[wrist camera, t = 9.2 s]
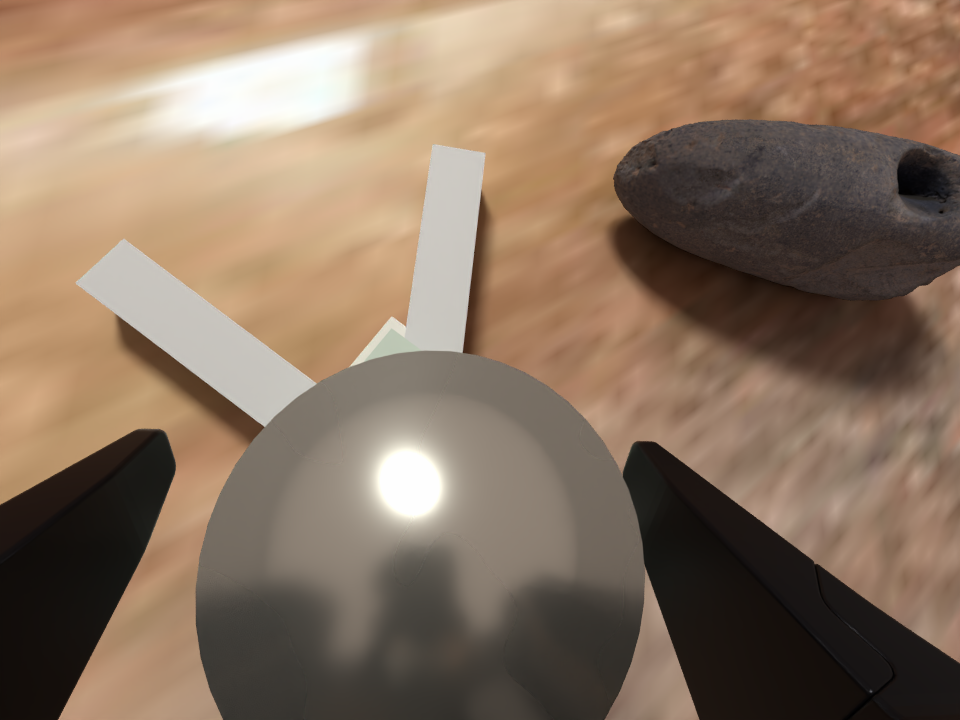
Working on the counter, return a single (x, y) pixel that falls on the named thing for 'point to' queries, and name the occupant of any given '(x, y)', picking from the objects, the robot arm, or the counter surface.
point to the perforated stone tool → (800, 203)
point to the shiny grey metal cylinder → (422, 553)
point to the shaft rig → (255, 367)
